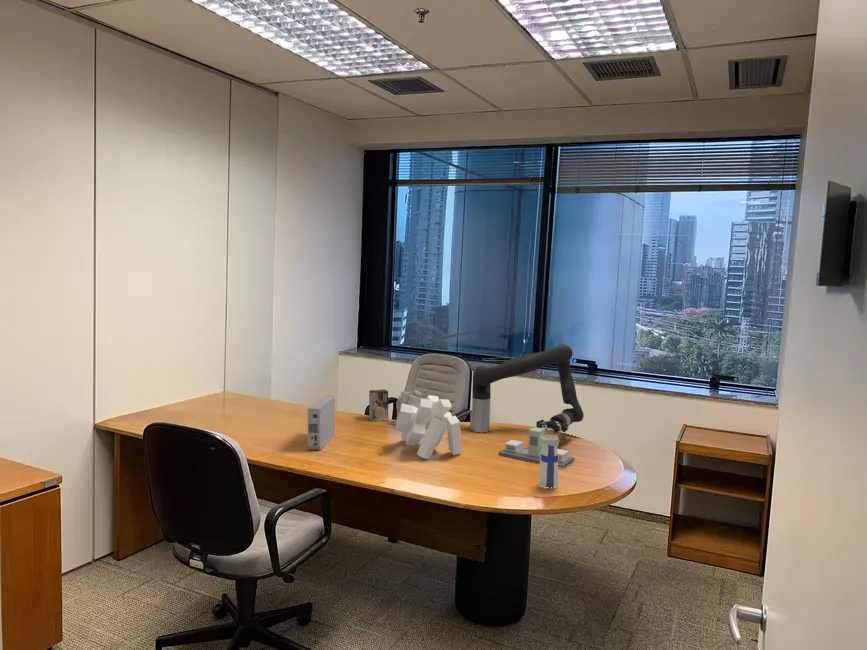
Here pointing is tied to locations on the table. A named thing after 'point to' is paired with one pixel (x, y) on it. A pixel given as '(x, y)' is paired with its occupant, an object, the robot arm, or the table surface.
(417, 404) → the twin engine backpack
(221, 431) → the table surface
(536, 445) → the tall block
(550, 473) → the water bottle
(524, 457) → the grey board
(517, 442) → the rectangular blocks
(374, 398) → the coffee box
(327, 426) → the game console
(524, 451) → the mounting plate
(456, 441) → the white angular blocks
